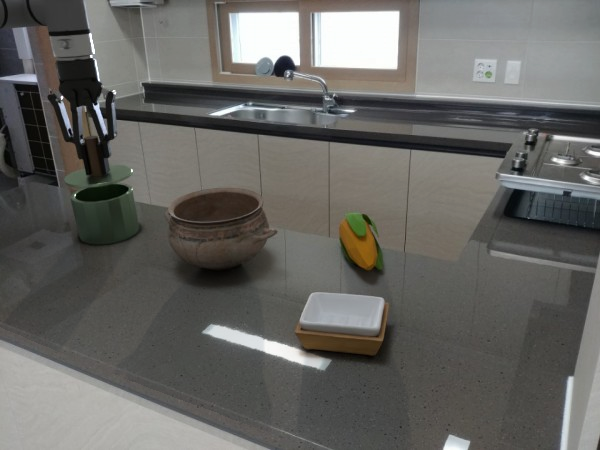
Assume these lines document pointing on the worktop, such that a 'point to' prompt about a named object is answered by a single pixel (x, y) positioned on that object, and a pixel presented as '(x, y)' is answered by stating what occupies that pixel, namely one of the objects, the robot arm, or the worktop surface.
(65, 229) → the worktop surface
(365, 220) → the corn
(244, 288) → the worktop surface
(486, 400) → the worktop surface
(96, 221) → the tin
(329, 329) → the soap dish
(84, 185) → the tin lid
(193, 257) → the cooking pot
